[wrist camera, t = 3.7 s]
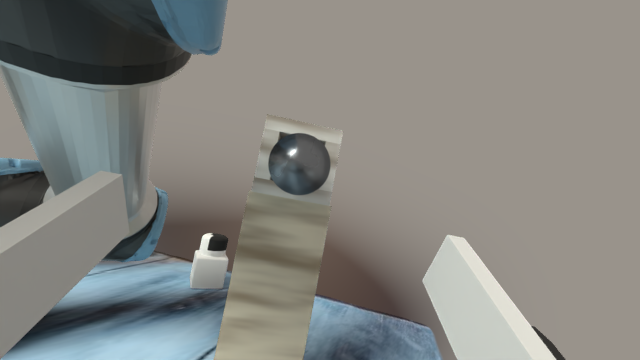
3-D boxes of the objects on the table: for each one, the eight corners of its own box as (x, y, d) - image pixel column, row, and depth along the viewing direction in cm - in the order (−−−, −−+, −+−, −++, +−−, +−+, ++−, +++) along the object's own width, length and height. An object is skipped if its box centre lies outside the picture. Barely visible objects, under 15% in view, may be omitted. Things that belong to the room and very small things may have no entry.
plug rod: (332, 213, 14) (349, 131, 14) (248, 198, 13) (265, 112, 13) (308, 183, 40) (313, 154, 40) (279, 177, 39) (284, 148, 39)
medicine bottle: (219, 278, 69) (228, 233, 70) (222, 289, 63) (233, 239, 64) (189, 278, 66) (199, 230, 67) (190, 289, 60) (201, 236, 61)
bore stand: (302, 461, 26) (361, 133, 28) (175, 450, 25) (248, 108, 27) (298, 376, 38) (340, 151, 40) (212, 366, 37) (261, 134, 39)
